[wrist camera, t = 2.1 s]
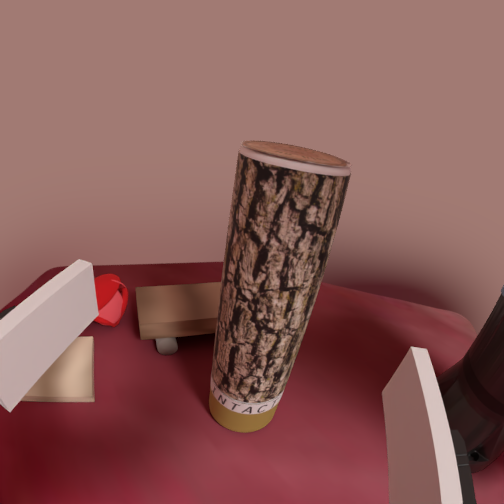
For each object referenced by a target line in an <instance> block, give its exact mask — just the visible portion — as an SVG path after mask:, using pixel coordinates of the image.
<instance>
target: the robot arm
mask: <svg viewBox="0 0 504 504" xmlns="http://www.w3.org/2000/svg"><path fill="white" fill-rule="evenodd" d="M501 292H502V293H501V296H500V297H499V300H498V301H497V303H496V305H495V307H494V309H493V311H492V313H491V314H490V316H489V318H488V319H487V321H486V323H485V325H484V326H483V328H482V329H481V331H480V333H479V334H478V336H477V337H476V339H475V341H474V342H473V344H472V345H471V347H470V348H469V350H468V351H467V353H466V354H465V356H464V357H463V358H462V359H461V360H460V361H459V362H457V363H456V364H455V365H453V366H452V367H451V368H449V369H448V370H447V371H445V372H444V373H442V374H441V375H440V376H438V377H437V378H436V376H435V373H434V370H433V366H432V363H431V360H430V357H429V354H428V351H427V349H423V348H417V347H410V349H409V351H408V352H407V354H406V356H405V357H404V359H403V360H402V362H401V364H400V365H399V367H398V368H397V370H396V372H395V373H394V375H393V376H392V378H391V379H390V381H389V382H388V384H387V385H386V387H385V388H384V390H383V391H382V399H383V408H384V417H385V428H386V440H387V455H388V475H389V504H477V503H476V499H475V493H474V486H473V480H472V475H471V473H474V472H478V471H480V470H482V469H484V468H485V467H487V466H488V465H489V464H490V463H492V462H493V461H494V460H495V459H497V458H498V457H499V456H500V454H501V453H502V452H503V451H504V285H503V287H502V289H501ZM98 315H99V313H98V306H97V299H96V292H95V284H94V275H93V266H92V263H90V262H87V261H84V260H81V259H78V260H77V261H76V262H74V263H73V264H71V265H70V266H69V267H67V268H66V269H65V270H63V271H62V272H60V273H59V274H58V275H56V276H55V277H54V278H52V279H51V280H50V281H48V282H47V283H46V284H45V285H43V286H42V287H41V288H39V289H38V290H37V291H35V292H34V293H33V294H32V295H30V296H29V297H28V298H27V299H25V300H24V301H23V302H22V303H20V304H19V305H18V306H17V307H16V306H13V307H11V308H9V309H6V310H4V311H3V312H2V313H0V404H1V405H2V406H3V407H4V408H5V409H6V410H8V411H9V412H11V411H12V410H13V408H14V407H15V406H16V405H17V404H18V402H19V401H20V400H21V399H22V398H23V397H24V395H25V394H26V393H27V392H28V391H29V390H30V388H31V387H32V386H33V385H34V384H35V383H36V382H37V380H38V379H39V378H40V377H41V376H42V375H43V374H44V373H45V371H46V370H47V369H48V368H49V367H50V366H51V365H52V364H53V363H54V361H55V360H56V359H57V358H58V357H59V356H60V355H61V354H62V353H63V352H64V351H65V350H66V348H67V347H68V346H69V345H70V344H71V343H72V342H73V341H74V340H75V339H76V338H77V337H78V336H79V335H80V334H81V333H82V331H83V330H84V329H85V328H86V327H87V326H88V325H89V324H90V323H91V322H92V321H93V320H94V319H95V318H96V317H97V316H98Z"/></svg>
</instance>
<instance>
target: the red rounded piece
mask: <svg viewBox="0 0 504 504" xmlns="http://www.w3.org/2000/svg"><path fill="white" fill-rule="evenodd" d="M94 284H95V292H96V299H97V306H98V313H99V315H98V316H97V317H96V318H95V319H94V321H95V322H98V323H100V324H102V325H106V326H108V325H109V326H112V327H115V326H116V325H118V324H119V321H120V319H121V318H122V316H123V314H124V312H125V310H126V307H127V302H128V290H127V288H126V287H125V285H124V284H122V283H121V280H120V278H119V277H118V276H117V275H114V274H104V275H101V276H98V277H96V278H95V279H94ZM121 292H122V296H121V294H120V293H121Z"/></svg>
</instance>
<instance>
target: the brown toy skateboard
mask: <svg viewBox="0 0 504 504" xmlns="http://www.w3.org/2000/svg"><path fill="white" fill-rule="evenodd" d="M220 289H221V282H213V283H198V284H183V285H166V286H149V287H136V301H137V311H138V320H139V329H140V337H141V340H146V339H156V344H157V349H158V352H159V353H160V354H162V355H171V354H173V353H175V352H176V351H177V349H178V346H177V342H176V338H175V337H181V336H191V335H201V334H210V333H216V324H217V315H218V306H219V298H220Z"/></svg>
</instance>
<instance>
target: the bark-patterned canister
mask: <svg viewBox="0 0 504 504" xmlns="http://www.w3.org/2000/svg"><path fill="white" fill-rule="evenodd" d="M241 144H242V146H241V148H240V150H239V153H238V160H237V167H236V174H235V182H234V188H233V195H232V203H231V210H230V217H229V225H228V233H227V240H226V249H225V257H224V264H223V272H222V281H221V289H220V298H219V306H218V315H217V324H216V334H215V343H214V352H213V362H212V372H211V385H210V396H209V408H210V411H211V414H212V416H213V417H214V419H215V420H216V421H217V422H218V423H219V424H221V425H222V426H223V427H225V428H227V429H230V430H232V431H236V432H253V431H257V430H259V429H261V428H263V427H265V426H266V425H267V424H268V423H269V422H270V421H271V419H272V418H273V416H274V413H275V411H276V408H277V406H278V403H279V401H280V399H281V396H282V394H283V391H284V389H285V386H286V383H287V381H288V378H289V375H290V373H291V370H292V367H293V365H294V362H295V359H296V356H297V353H298V351H299V348H300V345H301V342H302V339H303V336H304V333H305V331H306V328H307V325H308V322H309V319H310V316H311V313H312V310H313V307H314V303H315V300H316V297H317V294H318V291H319V288H320V284H321V281H322V278H323V275H324V271H325V268H326V265H327V261H328V258H329V254H330V251H331V247H332V244H333V240H334V236H335V233H336V230H337V226H338V222H339V218H340V215H341V211H342V207H343V203H344V199H345V195H346V191H347V187H348V183H349V179H350V175H351V173H350V167H351V166H352V164H350V163H349V162H347V161H345V160H343V159H341V158H338V157H335V156H332V155H330V154H326V153H323V152H319V151H316V150H312V149H307V148H303V147H298V146H293V145H288V144H282V143H275V142H265V141H243V142H241Z"/></svg>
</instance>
